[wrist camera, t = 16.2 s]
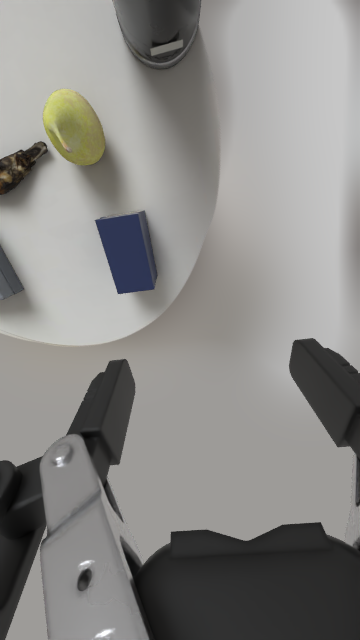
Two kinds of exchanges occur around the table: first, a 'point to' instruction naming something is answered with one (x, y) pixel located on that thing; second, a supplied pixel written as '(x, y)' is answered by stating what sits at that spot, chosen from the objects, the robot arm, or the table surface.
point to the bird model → (19, 166)
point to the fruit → (73, 127)
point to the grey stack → (8, 278)
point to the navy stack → (146, 239)
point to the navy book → (127, 252)
